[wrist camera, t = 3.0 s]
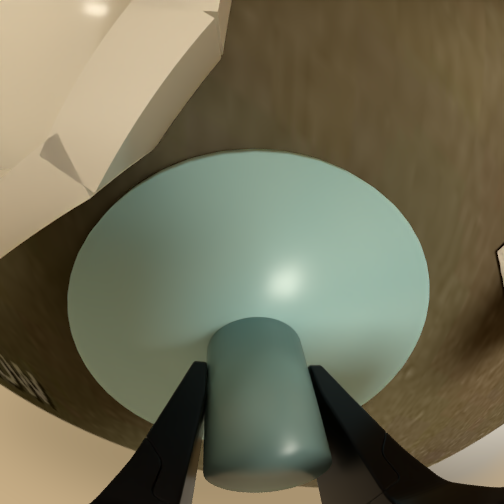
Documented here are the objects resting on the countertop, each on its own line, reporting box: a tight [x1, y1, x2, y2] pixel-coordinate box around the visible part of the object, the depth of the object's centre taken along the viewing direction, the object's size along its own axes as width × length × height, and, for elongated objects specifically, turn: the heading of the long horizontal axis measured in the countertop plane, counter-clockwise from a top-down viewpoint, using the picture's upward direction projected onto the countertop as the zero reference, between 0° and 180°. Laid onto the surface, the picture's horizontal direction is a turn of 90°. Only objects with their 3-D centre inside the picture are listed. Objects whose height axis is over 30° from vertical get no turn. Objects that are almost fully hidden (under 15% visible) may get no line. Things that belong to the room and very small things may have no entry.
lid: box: [67, 148, 429, 493], centre depth 9 cm, size 13×13×5 cm
